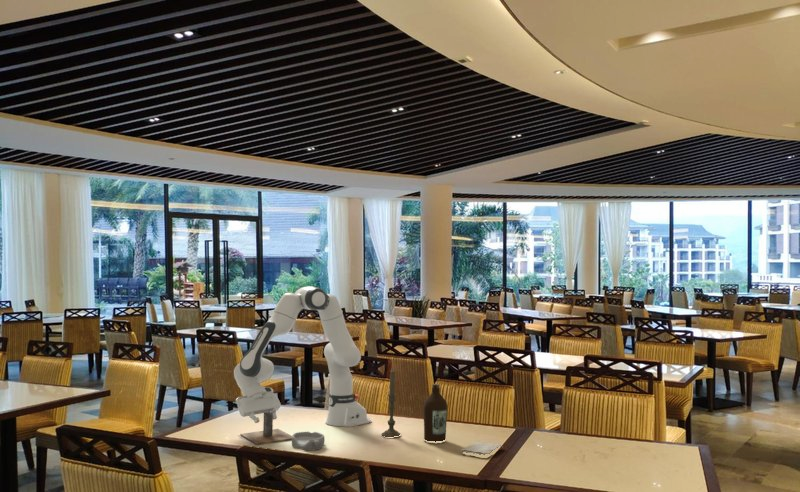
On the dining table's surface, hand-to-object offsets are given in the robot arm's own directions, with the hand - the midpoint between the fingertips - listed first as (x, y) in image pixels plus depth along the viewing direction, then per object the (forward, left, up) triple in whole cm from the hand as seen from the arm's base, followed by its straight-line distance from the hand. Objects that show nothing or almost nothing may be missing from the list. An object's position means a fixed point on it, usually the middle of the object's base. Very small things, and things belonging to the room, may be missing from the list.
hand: (266, 420), depth 290 cm
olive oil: (-61, +42, -8) cm, 75 cm away
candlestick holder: (-50, +24, -8) cm, 56 cm away
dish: (-10, +20, -8) cm, 24 cm away
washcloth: (-68, +65, -9) cm, 95 cm away
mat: (0, +1, -8) cm, 8 cm away
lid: (0, +1, -7) cm, 7 cm away
